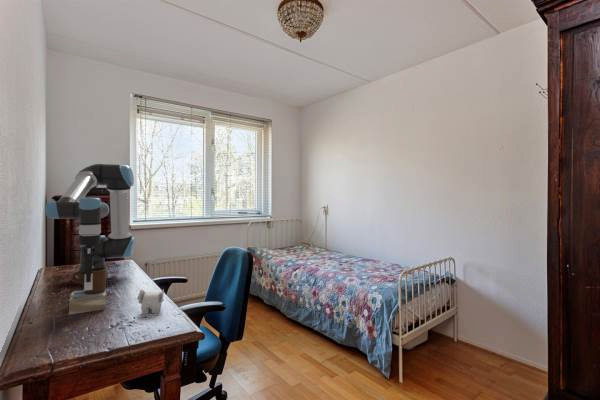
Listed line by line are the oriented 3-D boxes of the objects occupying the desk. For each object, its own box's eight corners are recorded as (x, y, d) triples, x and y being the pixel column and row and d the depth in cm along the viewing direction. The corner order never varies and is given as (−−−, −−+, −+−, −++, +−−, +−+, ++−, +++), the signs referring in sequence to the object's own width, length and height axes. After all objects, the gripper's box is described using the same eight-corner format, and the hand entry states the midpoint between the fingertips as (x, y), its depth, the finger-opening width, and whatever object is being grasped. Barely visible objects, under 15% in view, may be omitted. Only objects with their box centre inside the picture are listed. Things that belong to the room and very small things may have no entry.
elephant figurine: (168, 305, 131) (168, 284, 131) (160, 315, 119) (161, 293, 119) (144, 305, 129) (145, 285, 129) (134, 316, 117) (134, 293, 117)
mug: (69, 297, 120) (69, 273, 120) (72, 291, 127) (73, 269, 127) (105, 293, 126) (105, 270, 126) (106, 288, 133) (106, 266, 133)
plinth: (71, 305, 128) (72, 291, 128) (105, 300, 135) (105, 287, 135) (69, 314, 118) (69, 299, 118) (105, 309, 124) (105, 294, 124)
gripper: (80, 231, 135) (79, 279, 135) (76, 239, 114) (75, 295, 114) (100, 231, 139) (100, 277, 139) (100, 237, 118) (99, 292, 118)
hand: (89, 285), depth 126 cm, fingers open, 13 cm apart
